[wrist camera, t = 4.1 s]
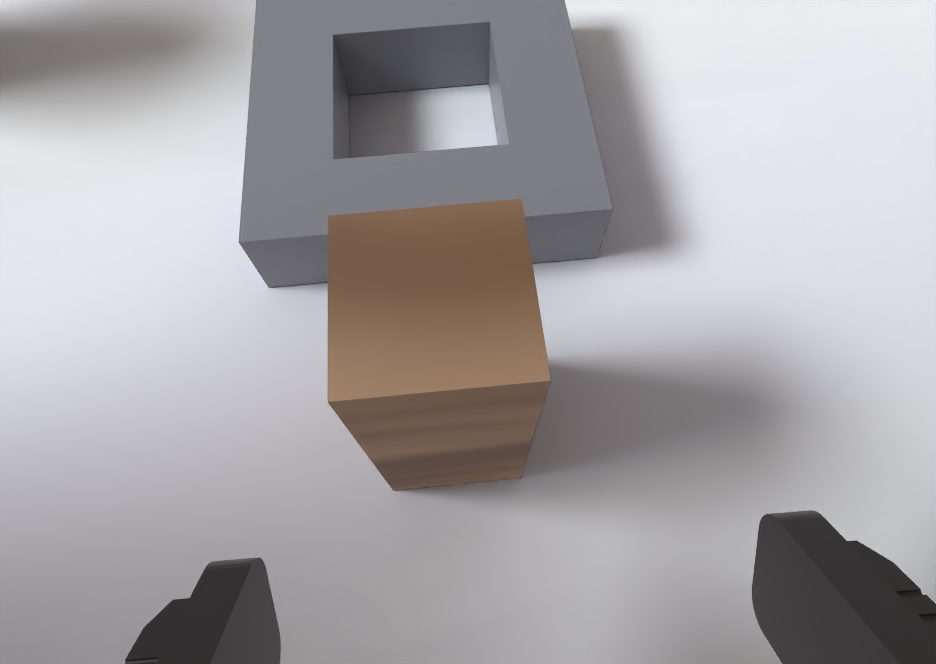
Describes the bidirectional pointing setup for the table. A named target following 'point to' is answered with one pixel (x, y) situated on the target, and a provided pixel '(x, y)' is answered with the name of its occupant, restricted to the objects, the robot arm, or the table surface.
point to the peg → (436, 341)
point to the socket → (420, 173)
